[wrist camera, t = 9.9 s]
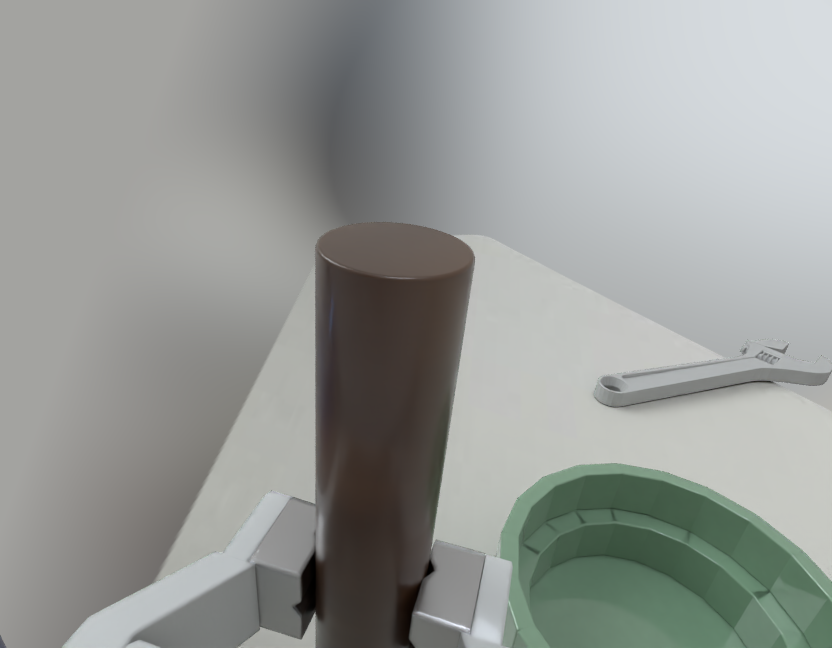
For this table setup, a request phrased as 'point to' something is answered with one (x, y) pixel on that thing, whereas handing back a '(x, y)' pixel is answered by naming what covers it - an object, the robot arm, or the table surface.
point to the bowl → (653, 568)
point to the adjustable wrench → (712, 374)
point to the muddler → (382, 419)
